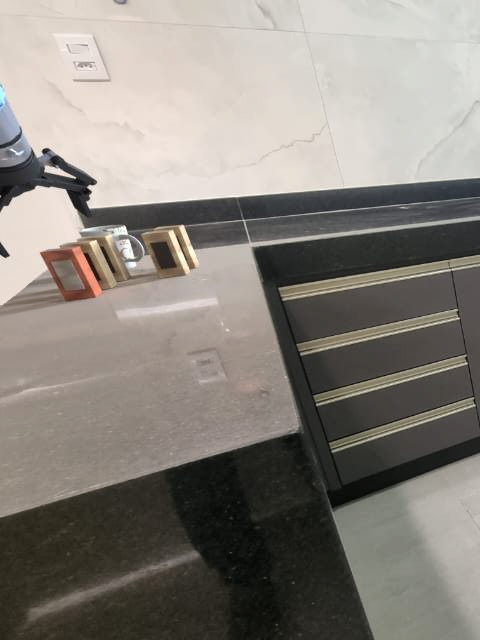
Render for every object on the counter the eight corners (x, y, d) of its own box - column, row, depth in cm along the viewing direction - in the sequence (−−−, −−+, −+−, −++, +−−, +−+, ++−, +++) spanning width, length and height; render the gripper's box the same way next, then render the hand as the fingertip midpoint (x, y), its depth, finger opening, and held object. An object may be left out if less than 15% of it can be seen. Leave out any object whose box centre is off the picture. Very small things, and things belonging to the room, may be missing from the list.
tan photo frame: (82, 292, 113) (58, 245, 109) (104, 280, 121) (83, 236, 117) (111, 288, 114) (89, 242, 110) (131, 277, 123) (111, 234, 119)
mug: (120, 264, 136) (102, 225, 131) (167, 263, 135) (150, 223, 131) (88, 273, 128) (68, 232, 124) (138, 271, 128) (119, 230, 123)
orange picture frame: (64, 301, 107) (38, 252, 103) (72, 297, 110) (47, 249, 105) (95, 297, 109) (71, 249, 104) (103, 293, 111) (79, 246, 107)
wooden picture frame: (159, 278, 121) (140, 234, 117) (175, 268, 130) (157, 227, 125) (185, 275, 123) (167, 231, 118) (199, 265, 131) (183, 224, 127)
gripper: (-84, 208, 71) (-17, 285, 88) (105, 133, 87) (132, 210, 103) (-142, 169, 70) (-63, 255, 86) (61, 100, 85) (95, 184, 102)
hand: (43, 231), depth 95 cm, fingers open, 13 cm apart
